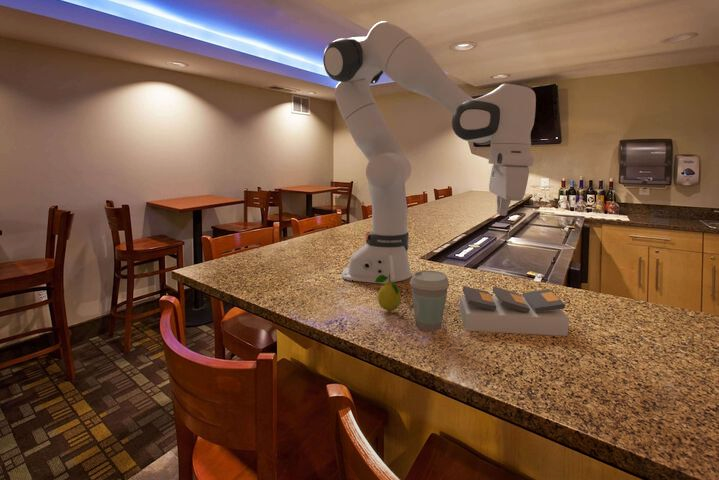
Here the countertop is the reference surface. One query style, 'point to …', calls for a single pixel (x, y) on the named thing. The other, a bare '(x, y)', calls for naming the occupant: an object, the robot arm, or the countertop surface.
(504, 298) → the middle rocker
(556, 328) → the rocker switch box
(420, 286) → the coffee cup
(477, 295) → the left rocker
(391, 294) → the lemon
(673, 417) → the countertop surface
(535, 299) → the right rocker
